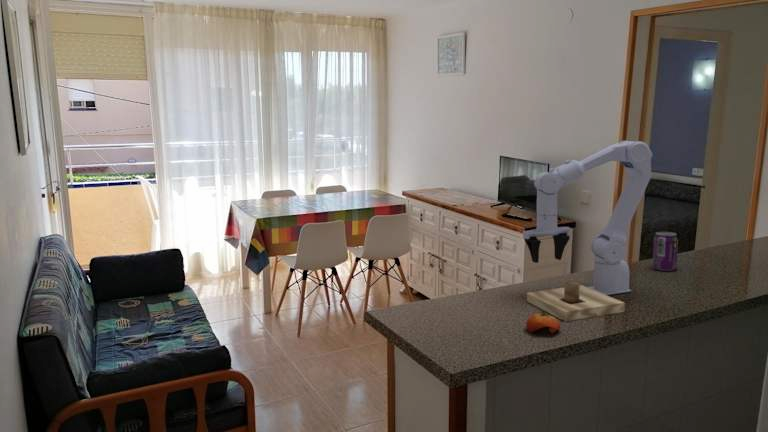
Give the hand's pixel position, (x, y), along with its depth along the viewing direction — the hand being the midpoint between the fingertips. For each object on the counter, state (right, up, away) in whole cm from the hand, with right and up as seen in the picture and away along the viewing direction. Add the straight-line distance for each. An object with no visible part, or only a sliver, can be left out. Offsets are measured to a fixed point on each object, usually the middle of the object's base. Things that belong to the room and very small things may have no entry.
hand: (546, 260), depth 167 cm
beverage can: (+45, -5, +23) cm, 51 cm away
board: (+4, -12, -11) cm, 16 cm away
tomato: (-9, -15, -28) cm, 33 cm away
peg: (+3, -12, -13) cm, 18 cm away
